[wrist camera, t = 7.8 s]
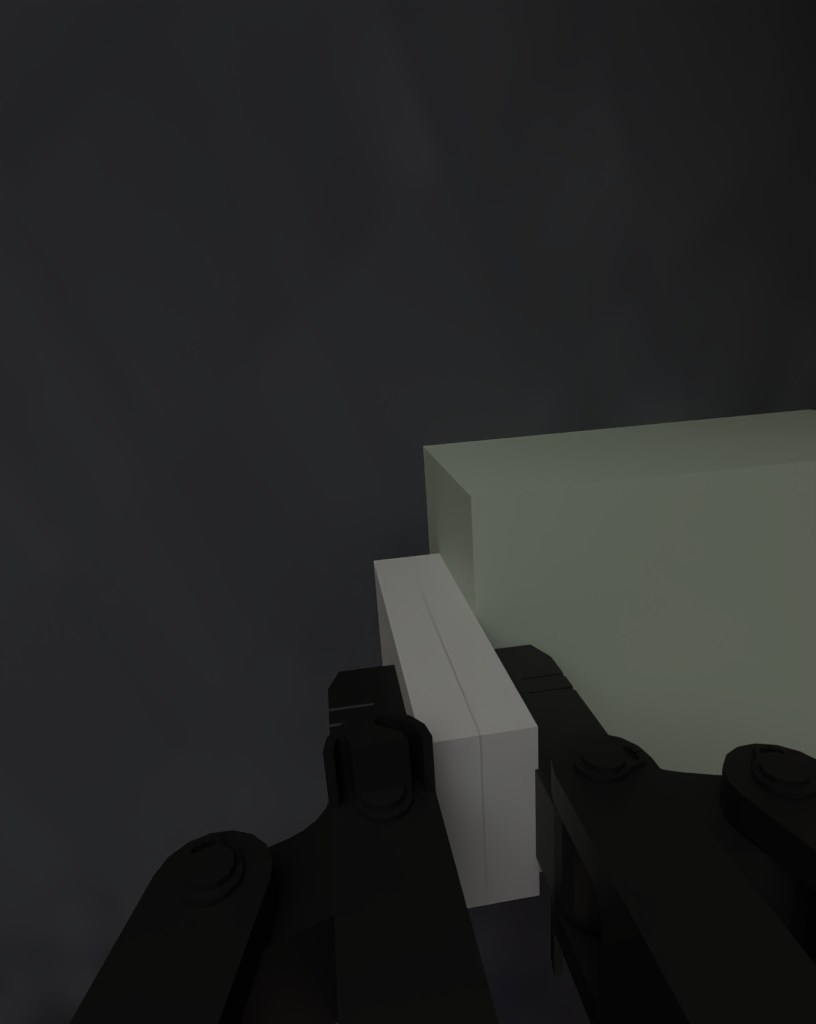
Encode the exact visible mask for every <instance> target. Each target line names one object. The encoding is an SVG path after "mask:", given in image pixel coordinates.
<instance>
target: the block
mask: <svg viewBox="0 0 816 1024" xmlns="http://www.w3.org/2000/svg"><path fill="white" fill-rule="evenodd" d="M423 451H424V467H425V483H426V499H427V515H428V531H429V546H430V554H438V553H439V554H440V555H441V557H442V559H443V561H444V562H445V564H446V566H447V568H448V569H449V571H450V573H451V575H452V577H453V578H454V580H455V582H456V584H457V585H458V587H459V589H460V591H461V592H462V594H463V596H464V598H465V599H466V601H467V603H468V605H469V606H470V608H471V610H472V612H473V613H474V615H475V617H476V619H477V620H478V622H479V624H480V626H481V628H482V629H483V631H484V633H485V635H486V636H487V638H488V640H489V642H490V643H491V645H492V647H493V649H499V648H506V647H514V646H521V645H529V644H531V645H532V646H534V647H536V648H537V649H539V650H541V651H542V652H544V653H546V654H548V655H549V656H551V657H552V658H553V660H554V661H555V663H556V664H557V665H558V667H559V668H560V669H561V671H562V672H563V676H566V678H567V679H568V680H569V682H570V683H571V684H572V686H573V690H576V691H577V693H578V694H579V695H580V697H581V698H582V699H583V701H584V702H585V703H586V705H587V706H588V708H589V709H590V710H591V712H592V713H593V714H594V716H595V717H596V719H597V720H598V721H599V723H600V724H601V725H602V727H603V728H604V729H605V731H606V732H607V734H608V735H612V736H616V737H621V738H623V739H625V740H627V741H630V742H632V743H634V744H636V745H638V746H639V747H640V748H642V749H643V750H644V751H645V752H646V753H647V754H648V755H650V756H651V757H652V758H653V760H654V761H655V762H656V763H657V765H658V766H659V767H660V769H664V770H670V771H677V772H686V773H699V774H712V775H722V768H723V763H724V760H725V757H726V754H728V753H729V752H731V751H732V750H733V749H735V748H736V747H738V746H744V745H749V744H754V743H758V744H772V745H779V746H783V747H786V748H790V749H794V750H797V751H800V752H803V753H805V754H807V755H809V756H811V757H813V758H815V759H816V410H810V409H809V410H798V411H788V412H777V413H767V414H756V415H746V416H735V417H725V418H714V419H704V420H693V421H683V422H672V423H662V424H651V425H641V426H630V427H620V428H609V429H599V430H588V431H578V432H567V433H557V434H546V435H536V436H525V437H515V438H504V439H494V440H483V441H473V442H462V443H452V444H441V445H431V446H423ZM539 872H542V870H541V868H540V865H539Z"/></svg>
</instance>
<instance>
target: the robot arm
mask: <svg viewBox="0 0 816 1024" xmlns="http://www.w3.org/2000/svg"><path fill="white" fill-rule="evenodd" d="M374 572H375V583H376V595H377V606H378V618H379V629H380V641H381V652H382V663H383V666H379V667H372V668H364V669H357V670H349V671H342V672H339V673H338V674H337V676H336V678H335V679H334V681H333V682H332V684H331V685H330V687H329V689H328V700H329V724H330V735H329V736H328V737H327V739H326V742H325V746H324V750H323V757H324V765H325V774H326V782H327V790H328V798H329V802H328V805H327V807H326V809H325V810H324V811H323V813H322V814H321V815H320V816H319V818H318V819H317V820H316V821H315V822H314V823H312V824H311V825H310V826H309V827H307V828H306V829H305V830H304V831H302V832H300V833H298V834H296V835H294V836H293V837H291V838H289V839H287V840H284V841H282V842H280V843H277V844H275V845H273V846H271V847H268V848H267V845H266V844H265V843H264V842H262V841H261V840H260V839H258V838H257V837H256V836H254V835H253V834H249V833H244V832H239V831H234V830H232V831H224V832H217V833H210V834H208V835H206V836H203V837H201V838H198V839H196V840H193V841H191V842H188V843H187V844H186V845H184V846H183V847H182V848H180V849H179V850H178V851H176V852H175V853H173V854H172V855H171V856H169V857H168V858H167V860H166V861H165V862H164V863H163V865H162V866H161V867H160V868H159V870H158V871H157V872H156V873H155V875H154V876H153V878H152V880H151V881H150V883H149V885H148V887H147V888H146V890H145V892H144V894H143V895H142V897H141V899H140V901H139V902H138V904H137V906H136V908H135V909H134V911H133V913H132V915H131V916H130V918H129V920H128V922H127V923H126V925H125V927H124V929H123V930H122V932H121V934H120V936H119V938H118V939H117V941H116V943H115V945H114V946H113V948H112V950H111V952H110V953H109V955H108V957H107V959H106V960H105V962H104V964H103V966H102V967H101V969H100V971H99V973H98V974H97V976H96V978H95V980H94V981H93V983H92V985H91V987H90V988H89V990H88V992H87V994H86V996H85V997H84V999H83V1001H82V1003H81V1004H80V1006H79V1008H78V1010H77V1011H76V1013H75V1015H74V1017H73V1018H72V1020H71V1022H70V1024H335V1023H337V1022H338V1024H498V1020H497V1016H496V1013H495V1009H494V1005H493V1001H492V998H491V994H490V990H489V987H488V983H487V979H486V976H485V972H484V968H483V964H482V961H481V957H480V953H479V950H478V946H477V942H476V939H475V935H474V931H473V927H472V924H471V920H470V916H469V913H468V909H467V908H472V907H477V906H483V905H488V904H494V903H499V902H505V901H510V900H516V899H521V898H527V897H532V896H538V895H539V865H540V868H541V870H542V872H543V875H544V877H545V879H546V882H547V884H548V886H549V889H550V891H551V960H552V966H553V972H554V975H560V974H562V952H563V955H564V957H565V960H566V962H567V965H568V967H569V970H570V972H571V975H572V977H573V980H574V983H575V985H576V988H577V990H578V993H579V995H580V998H581V1000H582V1003H583V1005H584V1008H585V1010H586V1013H587V1015H588V1018H589V1020H590V1023H591V1024H816V759H815V758H813V757H811V756H809V755H807V754H805V753H803V752H800V751H797V750H794V749H790V748H786V747H783V746H779V745H772V744H758V743H754V744H749V745H744V746H738V747H736V748H735V749H733V750H732V751H731V752H729V753H728V754H726V757H725V760H724V763H723V768H722V775H712V774H699V773H686V772H677V771H670V770H664V769H660V767H659V766H658V765H657V763H656V762H655V761H654V760H653V758H652V757H651V756H650V755H648V754H647V753H646V752H645V751H644V750H643V749H642V748H640V747H639V746H638V745H636V744H634V743H632V742H630V741H627V740H625V739H623V738H621V737H616V736H612V735H608V734H607V732H606V731H605V729H604V728H603V727H602V725H601V724H600V723H599V721H598V720H597V719H596V717H595V716H594V714H593V713H592V712H591V710H590V709H589V708H588V706H587V705H586V703H585V702H584V701H583V699H582V698H581V697H580V695H579V694H578V693H577V691H576V690H573V686H572V684H571V683H570V682H569V680H568V679H567V678H566V676H563V672H562V671H561V669H560V668H559V667H558V665H557V664H556V663H555V661H554V660H553V658H552V657H551V656H549V655H548V654H546V653H544V652H542V651H541V650H539V649H537V648H536V647H534V646H532V645H531V644H529V645H521V646H514V647H506V648H499V649H493V647H492V645H491V643H490V642H489V640H488V638H487V636H486V635H485V633H484V631H483V629H482V628H481V626H480V624H479V622H478V620H477V619H476V617H475V615H474V613H473V612H472V610H471V608H470V606H469V605H468V603H467V601H466V599H465V598H464V596H463V594H462V592H461V591H460V589H459V587H458V585H457V584H456V582H455V580H454V578H453V577H452V575H451V573H450V571H449V569H448V568H447V566H446V564H445V562H444V561H443V559H442V557H441V555H440V554H439V553H438V554H429V555H421V556H412V557H403V558H394V559H385V560H376V561H374Z"/></svg>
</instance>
